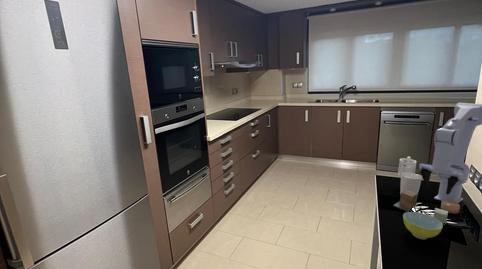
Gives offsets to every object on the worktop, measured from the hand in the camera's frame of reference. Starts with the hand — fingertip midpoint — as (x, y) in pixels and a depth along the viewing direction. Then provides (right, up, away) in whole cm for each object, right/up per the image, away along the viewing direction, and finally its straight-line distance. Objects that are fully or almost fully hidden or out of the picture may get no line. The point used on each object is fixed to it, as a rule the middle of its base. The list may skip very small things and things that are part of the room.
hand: (436, 190), depth 106 cm
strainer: (+3, -4, +25) cm, 26 cm away
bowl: (-17, -13, -14) cm, 26 cm away
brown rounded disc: (+7, -9, +3) cm, 12 cm away
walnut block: (-9, -8, +5) cm, 13 cm away
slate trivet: (-9, -8, +5) cm, 13 cm away
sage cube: (-3, -11, -5) cm, 12 cm away
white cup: (-2, -6, +16) cm, 17 cm away
